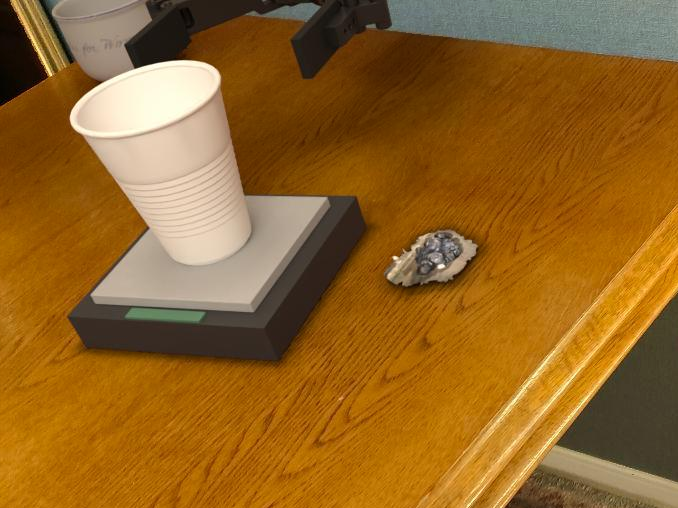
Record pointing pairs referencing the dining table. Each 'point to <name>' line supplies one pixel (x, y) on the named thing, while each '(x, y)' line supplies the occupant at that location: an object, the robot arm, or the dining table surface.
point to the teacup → (101, 33)
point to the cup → (171, 156)
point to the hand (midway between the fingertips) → (216, 62)
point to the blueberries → (432, 259)
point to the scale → (225, 285)
